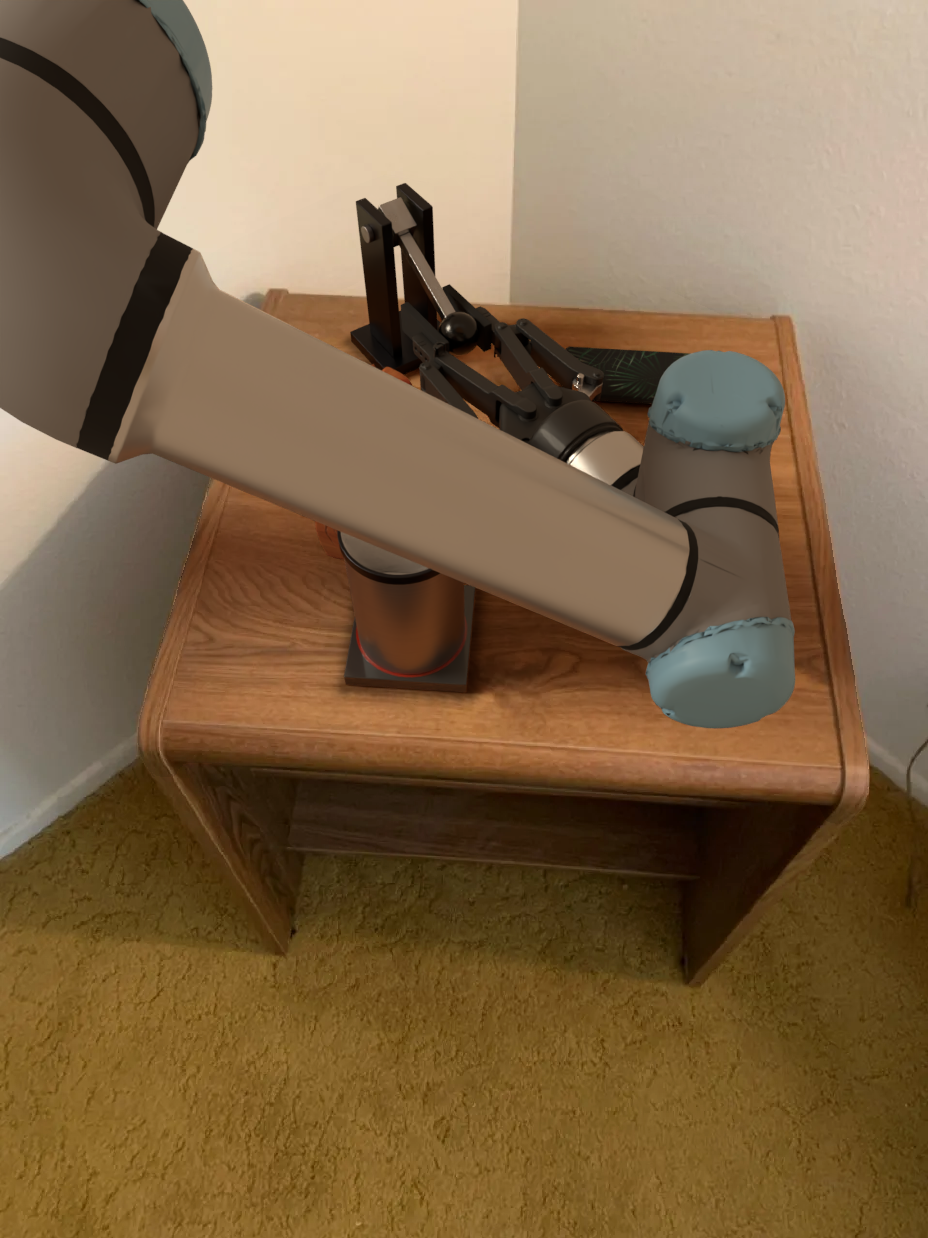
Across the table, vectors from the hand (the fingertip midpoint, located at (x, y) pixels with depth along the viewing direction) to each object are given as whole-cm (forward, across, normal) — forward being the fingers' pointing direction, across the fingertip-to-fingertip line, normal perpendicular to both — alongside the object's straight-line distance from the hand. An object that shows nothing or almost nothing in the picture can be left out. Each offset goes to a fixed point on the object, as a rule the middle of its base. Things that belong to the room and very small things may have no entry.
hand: (426, 307), depth 82 cm
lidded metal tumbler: (-25, -17, -6) cm, 31 cm away
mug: (-16, -15, -7) cm, 23 cm away
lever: (0, 0, +1) cm, 1 cm away
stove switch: (+4, 0, -7) cm, 8 cm away
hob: (-25, -17, -7) cm, 31 cm away
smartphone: (-13, +16, -7) cm, 21 cm away
